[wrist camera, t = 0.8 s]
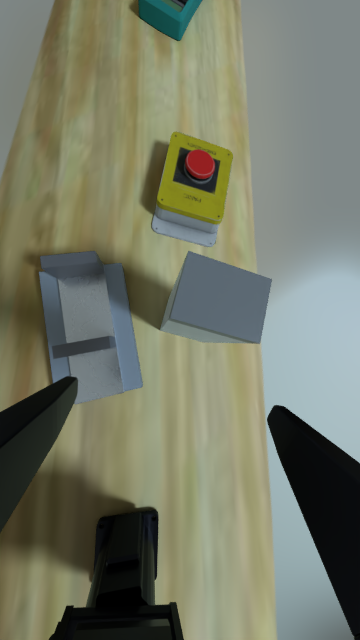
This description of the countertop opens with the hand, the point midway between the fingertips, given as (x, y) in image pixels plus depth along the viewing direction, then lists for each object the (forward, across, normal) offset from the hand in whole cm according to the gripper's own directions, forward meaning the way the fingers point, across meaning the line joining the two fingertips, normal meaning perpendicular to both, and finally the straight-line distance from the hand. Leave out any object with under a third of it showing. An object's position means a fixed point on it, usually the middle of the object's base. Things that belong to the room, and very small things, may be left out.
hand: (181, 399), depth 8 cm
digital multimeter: (+42, +9, -44) cm, 61 cm away
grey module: (+16, -2, +2) cm, 16 cm away
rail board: (+14, +9, +5) cm, 17 cm away
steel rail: (+13, +9, +4) cm, 16 cm away
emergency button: (+25, 0, -14) cm, 29 cm away
